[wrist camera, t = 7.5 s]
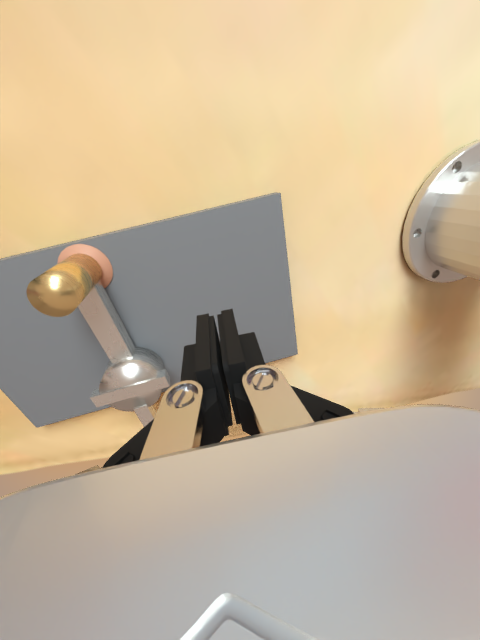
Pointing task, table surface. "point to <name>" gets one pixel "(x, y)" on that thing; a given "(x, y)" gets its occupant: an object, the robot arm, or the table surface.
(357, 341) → the table surface
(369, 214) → the table surface
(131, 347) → the crank handle
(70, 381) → the base plate
